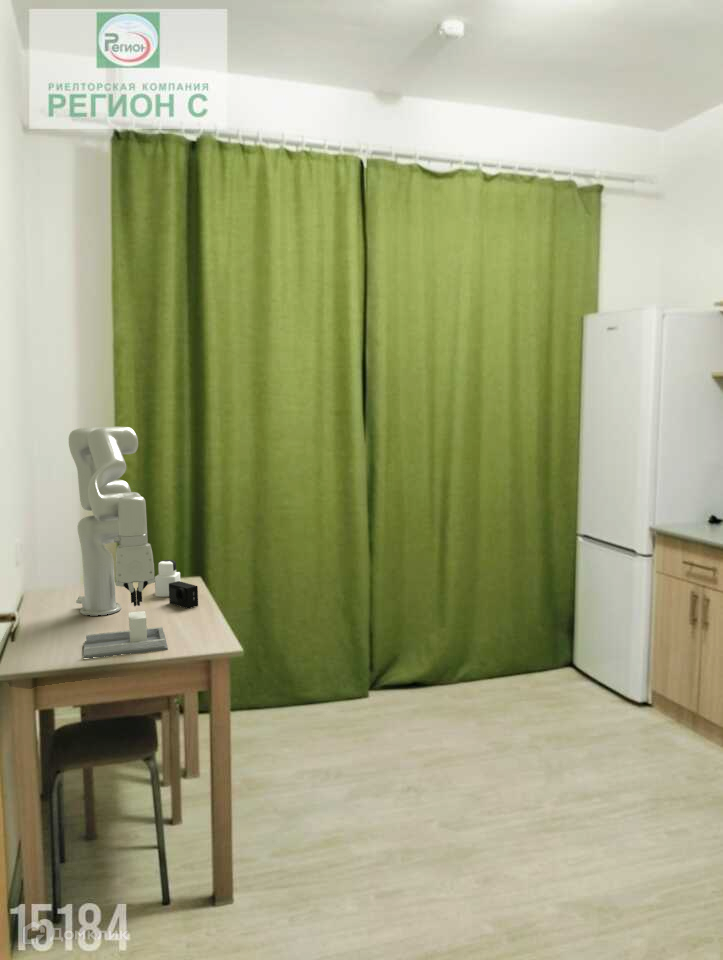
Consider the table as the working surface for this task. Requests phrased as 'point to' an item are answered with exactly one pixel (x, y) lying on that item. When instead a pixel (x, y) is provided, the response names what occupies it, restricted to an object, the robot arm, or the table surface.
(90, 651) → the rail guides
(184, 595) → the digital camera
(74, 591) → the table surface
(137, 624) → the block
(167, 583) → the medicine bottle
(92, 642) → the plate
